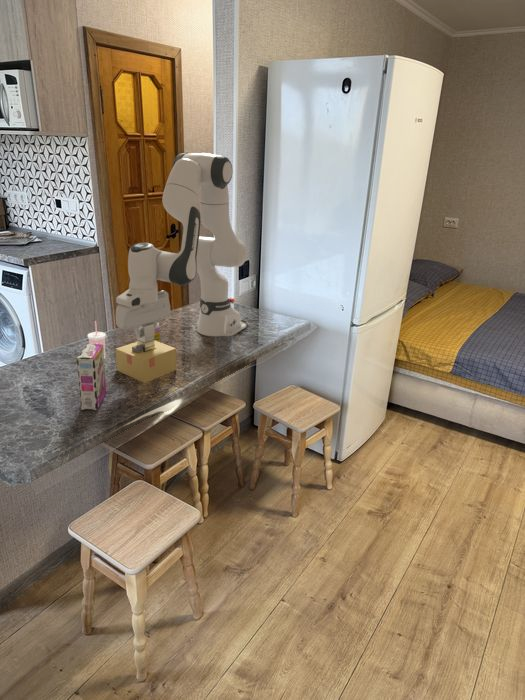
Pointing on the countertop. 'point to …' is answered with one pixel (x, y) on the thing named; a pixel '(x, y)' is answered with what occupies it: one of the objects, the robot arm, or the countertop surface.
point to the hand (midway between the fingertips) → (145, 335)
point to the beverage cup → (97, 338)
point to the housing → (146, 361)
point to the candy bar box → (91, 376)
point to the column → (146, 337)
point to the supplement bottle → (157, 333)
